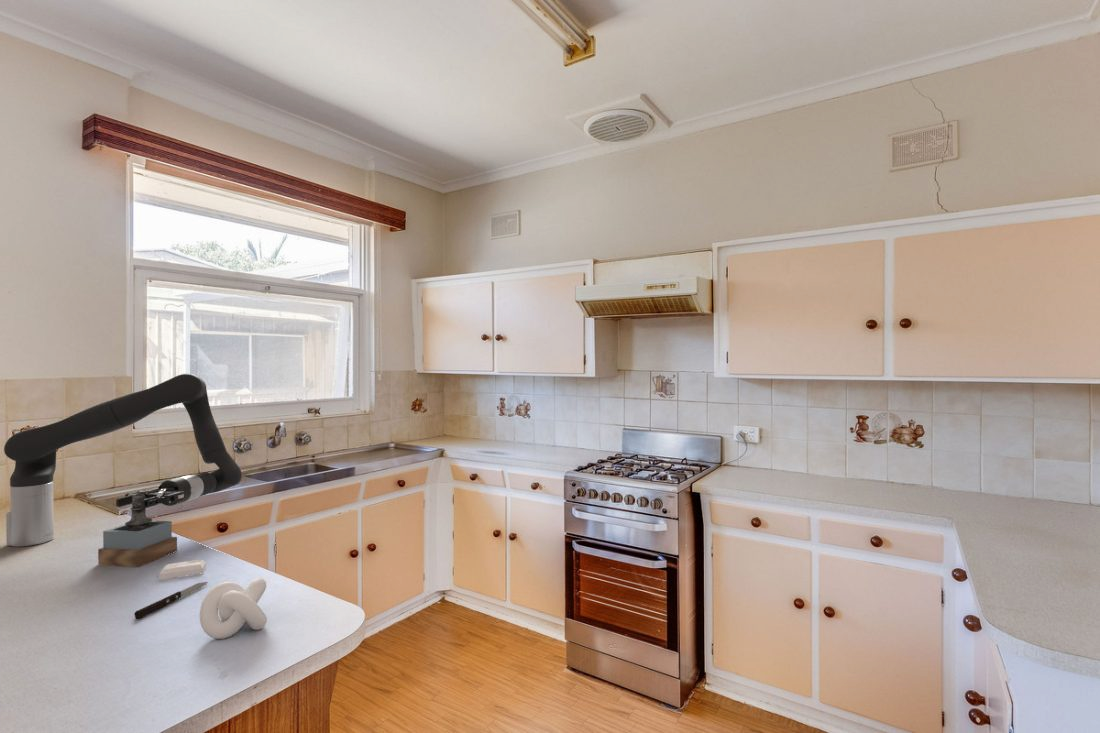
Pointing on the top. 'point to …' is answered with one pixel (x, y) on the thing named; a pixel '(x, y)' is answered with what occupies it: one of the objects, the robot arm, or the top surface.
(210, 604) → the white knot sculpture
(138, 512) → the salt shaker
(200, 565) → the soap bar
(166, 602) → the kitchen knife
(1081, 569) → the top surface
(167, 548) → the tower base
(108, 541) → the blue-grey square tray
